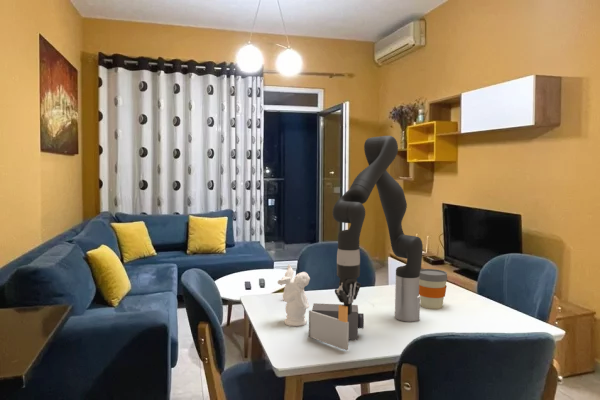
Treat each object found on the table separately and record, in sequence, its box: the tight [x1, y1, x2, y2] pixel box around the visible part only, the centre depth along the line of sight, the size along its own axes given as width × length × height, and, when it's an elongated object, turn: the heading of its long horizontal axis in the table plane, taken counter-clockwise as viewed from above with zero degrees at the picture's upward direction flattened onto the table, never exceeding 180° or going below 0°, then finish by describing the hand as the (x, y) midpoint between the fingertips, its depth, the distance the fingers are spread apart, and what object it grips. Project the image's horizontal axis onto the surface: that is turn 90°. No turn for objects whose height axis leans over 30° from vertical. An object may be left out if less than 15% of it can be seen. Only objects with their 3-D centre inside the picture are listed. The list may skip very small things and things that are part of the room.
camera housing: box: [311, 303, 365, 341], centre depth 162 cm, size 18×8×10 cm, turn 84°
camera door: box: [308, 304, 349, 351], centre depth 152 cm, size 17×1×14 cm, turn 46°
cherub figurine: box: [277, 263, 311, 327], centre depth 174 cm, size 12×12×22 cm
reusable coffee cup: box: [419, 268, 448, 310], centre depth 198 cm, size 13×13×15 cm
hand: (347, 313), depth 150 cm, fingers closed
